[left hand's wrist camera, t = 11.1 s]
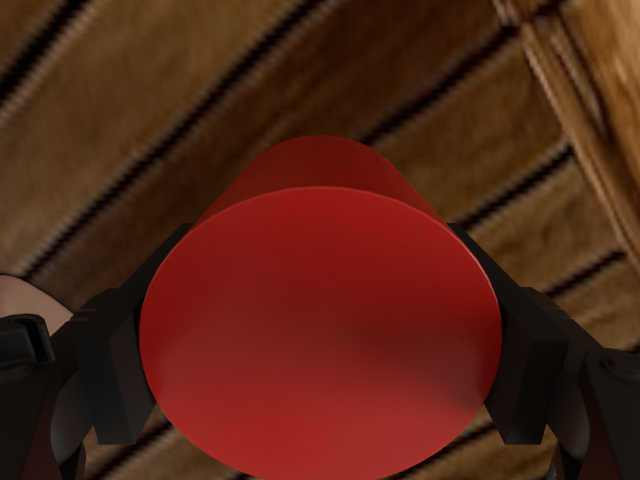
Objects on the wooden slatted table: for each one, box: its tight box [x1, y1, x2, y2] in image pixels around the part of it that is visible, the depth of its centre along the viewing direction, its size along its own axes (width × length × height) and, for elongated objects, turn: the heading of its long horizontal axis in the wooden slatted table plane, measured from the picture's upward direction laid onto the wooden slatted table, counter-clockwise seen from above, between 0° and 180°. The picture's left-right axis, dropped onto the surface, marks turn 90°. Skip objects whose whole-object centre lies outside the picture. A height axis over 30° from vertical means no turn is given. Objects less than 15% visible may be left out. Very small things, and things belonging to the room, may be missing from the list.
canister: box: [139, 135, 503, 480], centre depth 12 cm, size 8×8×8 cm
